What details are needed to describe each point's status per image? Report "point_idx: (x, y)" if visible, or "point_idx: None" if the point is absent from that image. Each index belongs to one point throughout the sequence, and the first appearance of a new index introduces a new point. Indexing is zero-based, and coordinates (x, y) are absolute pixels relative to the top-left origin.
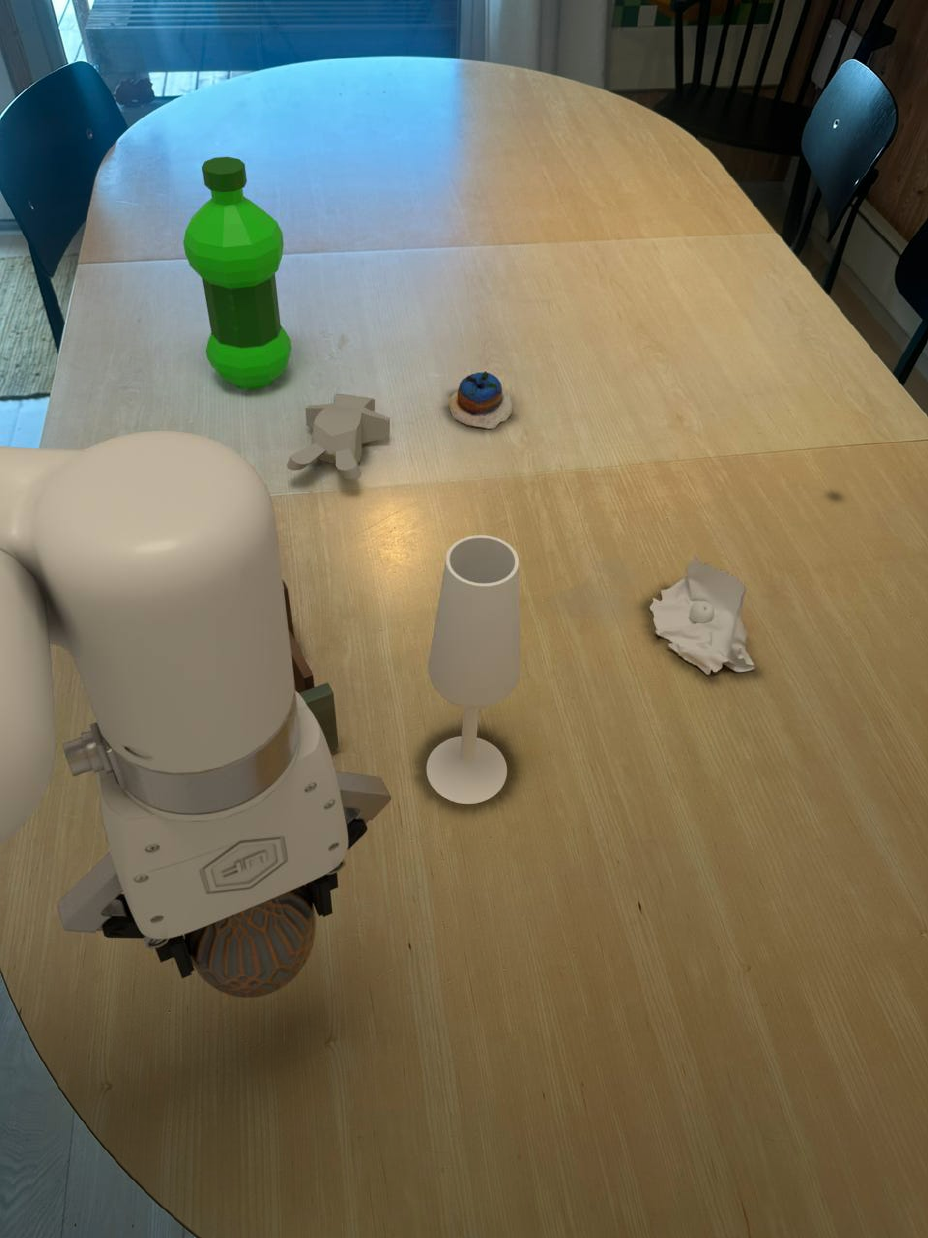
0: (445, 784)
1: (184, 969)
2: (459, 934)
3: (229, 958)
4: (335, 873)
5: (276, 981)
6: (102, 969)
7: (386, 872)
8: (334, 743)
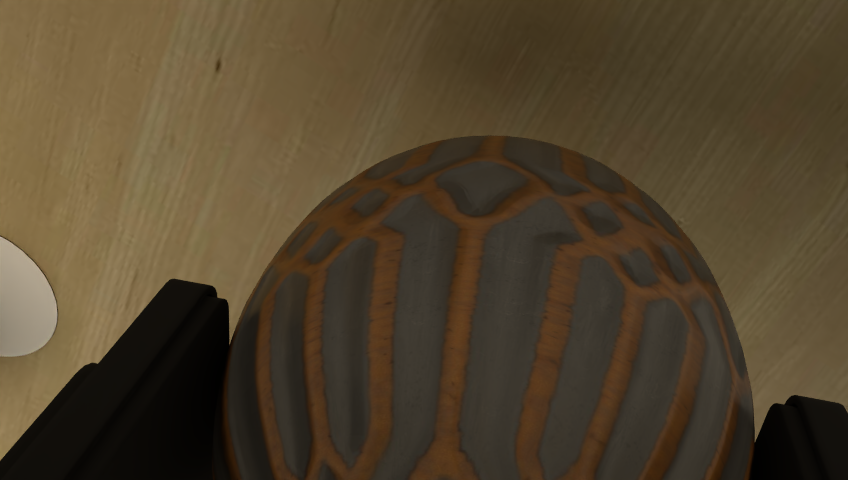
0: (26, 292)
1: (844, 458)
2: (116, 27)
3: (661, 407)
4: (4, 466)
5: (507, 170)
6: None
7: (199, 214)
8: None
